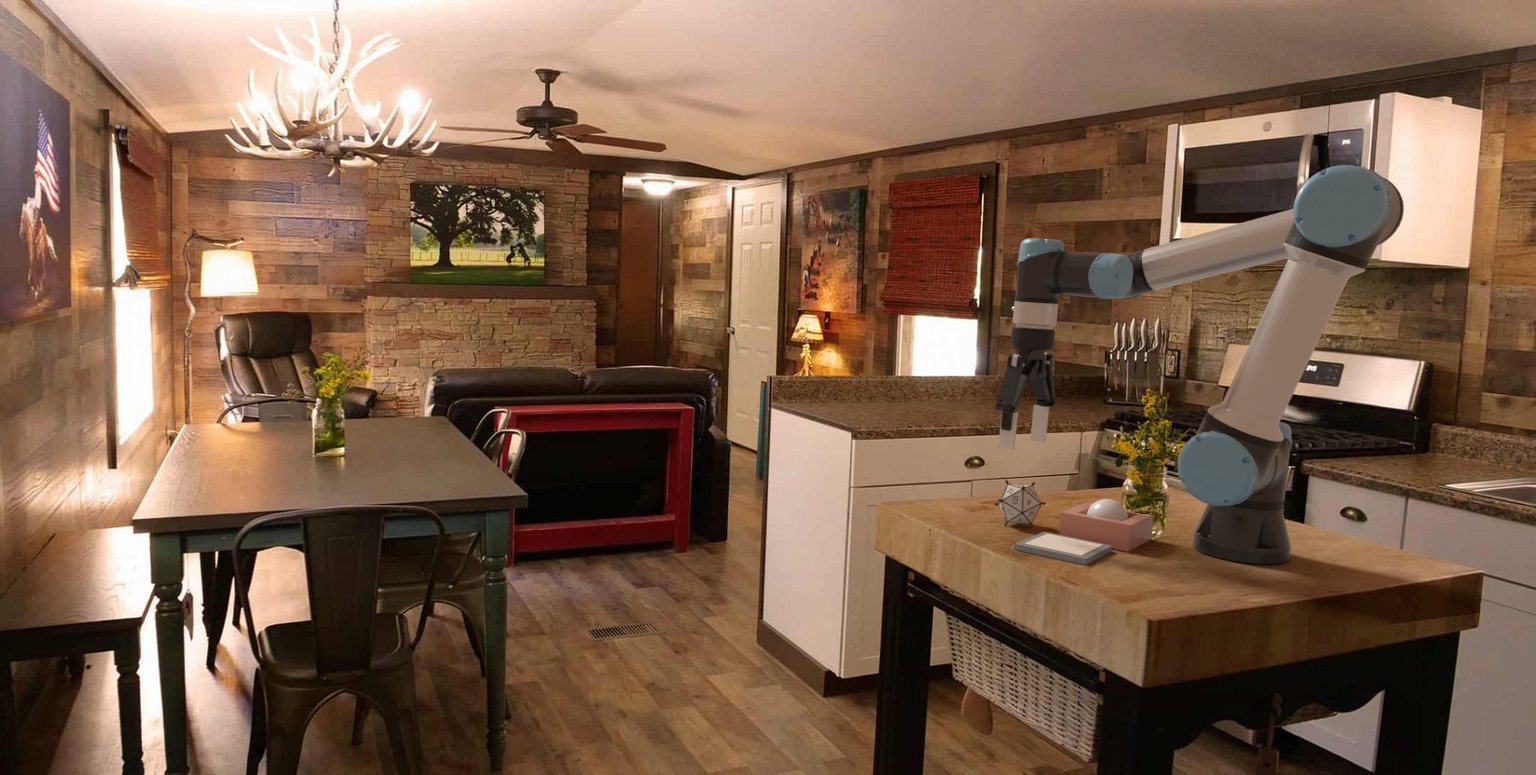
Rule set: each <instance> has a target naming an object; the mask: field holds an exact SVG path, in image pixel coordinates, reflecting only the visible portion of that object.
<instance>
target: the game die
mask: <svg viewBox="0 0 1536 775" xmlns="http://www.w3.org/2000/svg"><path fill="white" fill-rule="evenodd" d="M1004 483H1005V484H1006V486H1005V488H1004V490H1003V492H1002V494H1001V497H1000V498H998V499H997V501H998V502H995V503H994V504H993V505H994V506H996V507H997V506H998V507H999V509H1000V511H1001V513H1002V516H1003V518H1004V520H1005V522H1004V523H1003V525H1004V526H1003V527H1006V526H1008V524H1019V525H1020V524H1021V525H1022V524H1023V525H1030V528H1032V529H1034V528H1035V525H1034V524H1033V523H1034V520H1035V518H1037V517H1036V516H1037V515H1038V512H1039V510H1040V509H1041V508H1042V507H1041V506H1042V505H1043V506H1045V505H1046V504H1047V502H1045V501H1041V499H1040V497H1039V495H1038V493H1037V491H1036V489H1035V488H1034V486H1035V485H1036V481H1033V482H1031V484H1020V483H1010V482H1009V481H1008V479H1005V480H1004Z"/></svg>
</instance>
